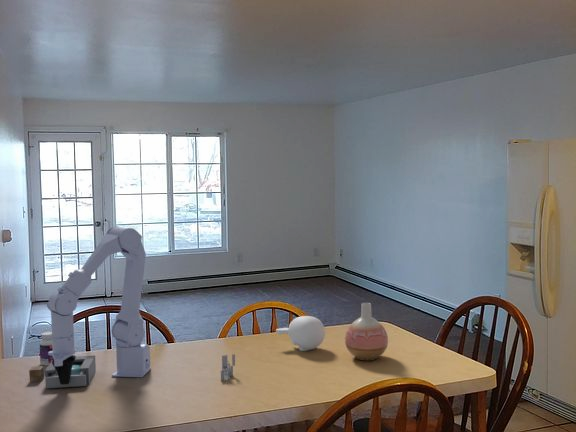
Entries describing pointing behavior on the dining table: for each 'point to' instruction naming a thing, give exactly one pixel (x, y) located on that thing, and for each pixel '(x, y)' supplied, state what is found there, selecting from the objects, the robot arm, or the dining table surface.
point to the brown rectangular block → (36, 374)
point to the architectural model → (227, 367)
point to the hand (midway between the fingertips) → (65, 383)
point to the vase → (366, 336)
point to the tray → (74, 381)
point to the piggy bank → (305, 332)
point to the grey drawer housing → (86, 365)
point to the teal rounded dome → (75, 370)
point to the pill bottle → (46, 348)
